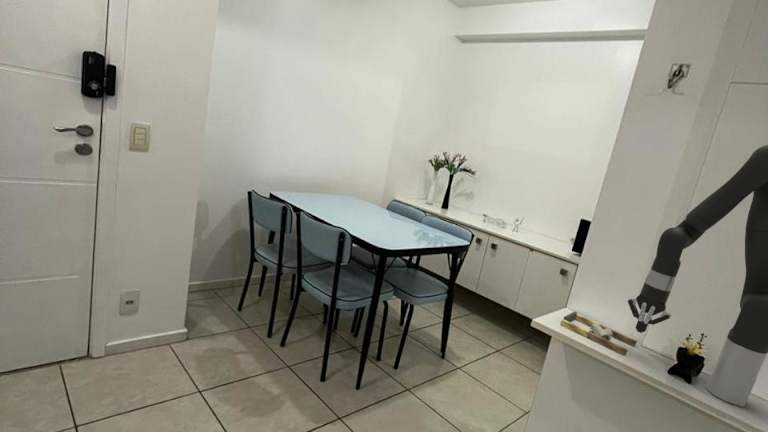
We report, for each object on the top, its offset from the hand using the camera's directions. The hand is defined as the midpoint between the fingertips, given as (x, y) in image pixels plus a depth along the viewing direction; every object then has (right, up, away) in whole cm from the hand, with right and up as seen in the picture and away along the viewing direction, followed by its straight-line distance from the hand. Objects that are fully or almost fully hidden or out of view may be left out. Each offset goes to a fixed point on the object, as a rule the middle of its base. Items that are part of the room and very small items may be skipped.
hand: (639, 331), depth 136 cm
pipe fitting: (-8, -5, +8) cm, 13 cm away
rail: (-9, -4, +10) cm, 14 cm away
